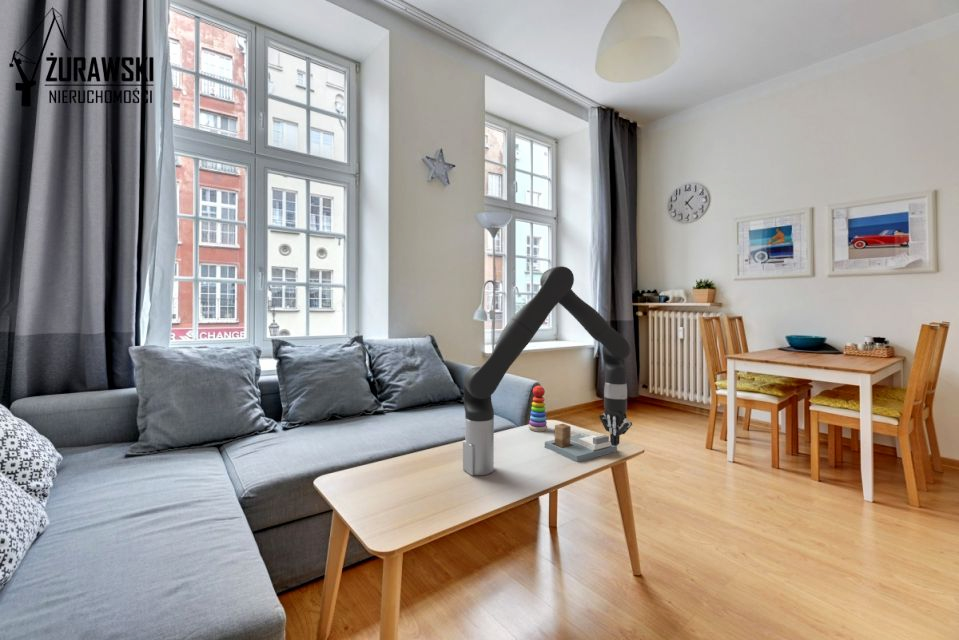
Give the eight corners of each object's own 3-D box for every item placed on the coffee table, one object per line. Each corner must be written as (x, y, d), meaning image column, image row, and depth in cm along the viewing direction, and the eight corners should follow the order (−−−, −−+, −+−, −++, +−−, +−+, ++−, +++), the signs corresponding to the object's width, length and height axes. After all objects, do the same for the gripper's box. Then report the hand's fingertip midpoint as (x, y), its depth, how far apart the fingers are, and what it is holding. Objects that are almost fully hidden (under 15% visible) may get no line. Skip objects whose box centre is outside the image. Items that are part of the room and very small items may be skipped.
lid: (594, 450, 145) (594, 439, 145) (578, 443, 152) (578, 433, 152) (610, 446, 149) (610, 435, 149) (593, 439, 156) (593, 429, 156)
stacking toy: (548, 432, 173) (549, 388, 172) (529, 432, 173) (529, 387, 172) (546, 426, 181) (546, 384, 180) (527, 426, 181) (528, 384, 180)
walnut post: (562, 452, 149) (562, 428, 149) (554, 449, 153) (555, 425, 153) (570, 450, 152) (570, 426, 151) (562, 447, 155) (563, 423, 155)
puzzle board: (576, 462, 140) (577, 454, 140) (544, 447, 155) (544, 440, 155) (616, 451, 151) (617, 444, 151) (582, 438, 165) (583, 431, 165)
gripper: (593, 393, 146) (592, 441, 146) (623, 400, 134) (623, 453, 135) (608, 390, 149) (607, 437, 150) (638, 398, 138) (638, 448, 139)
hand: (614, 445), depth 143 cm, fingers closed
